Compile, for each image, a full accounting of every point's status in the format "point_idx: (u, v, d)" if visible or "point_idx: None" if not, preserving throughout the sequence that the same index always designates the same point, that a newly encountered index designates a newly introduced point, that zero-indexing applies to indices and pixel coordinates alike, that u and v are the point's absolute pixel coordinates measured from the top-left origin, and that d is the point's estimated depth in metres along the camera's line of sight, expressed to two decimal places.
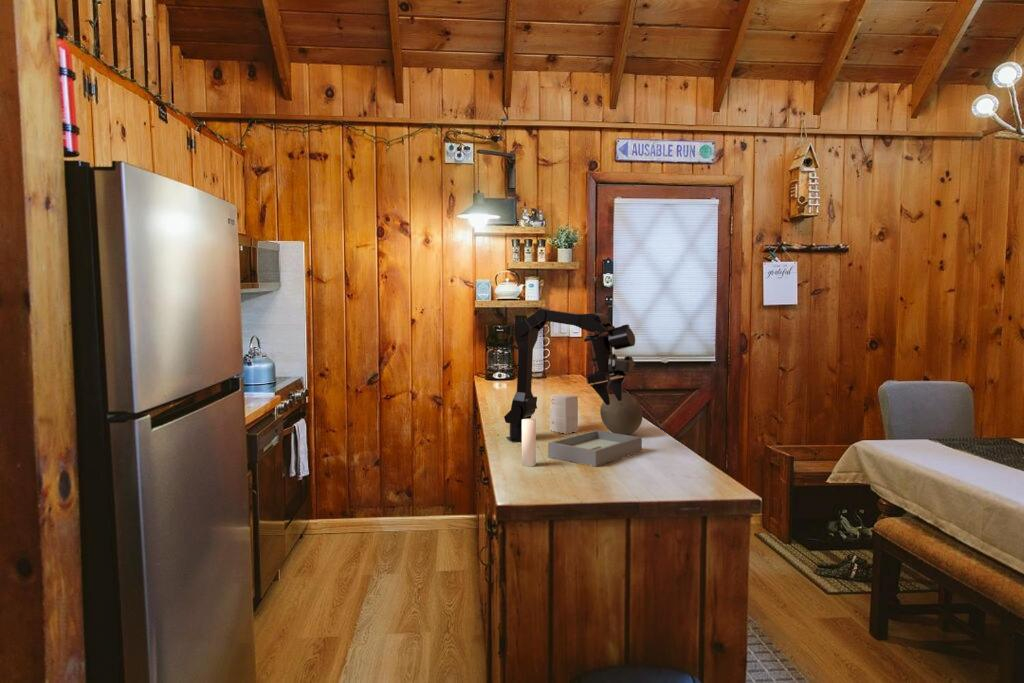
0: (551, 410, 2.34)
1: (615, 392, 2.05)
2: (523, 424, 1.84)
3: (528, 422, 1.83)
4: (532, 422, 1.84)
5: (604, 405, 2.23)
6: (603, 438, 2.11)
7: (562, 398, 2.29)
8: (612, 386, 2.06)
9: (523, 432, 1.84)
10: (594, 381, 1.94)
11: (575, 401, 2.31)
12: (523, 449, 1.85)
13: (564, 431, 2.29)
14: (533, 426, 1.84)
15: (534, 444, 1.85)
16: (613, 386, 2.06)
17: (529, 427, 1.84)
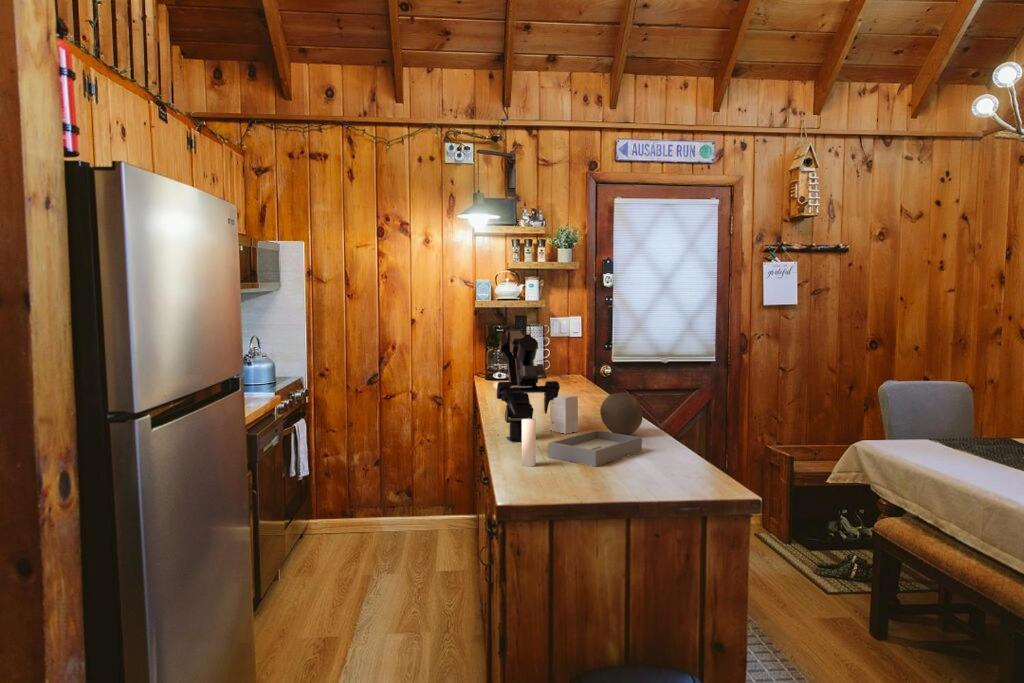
0: (551, 410, 2.34)
1: (544, 406, 1.96)
2: (523, 424, 1.84)
3: (528, 422, 1.83)
4: (532, 422, 1.84)
5: (604, 405, 2.23)
6: (603, 438, 2.11)
7: (562, 398, 2.29)
8: (544, 402, 1.98)
9: (523, 432, 1.84)
10: (497, 393, 1.97)
11: (575, 401, 2.31)
12: (523, 449, 1.85)
13: (564, 431, 2.29)
14: (533, 426, 1.84)
15: (534, 444, 1.85)
16: (544, 401, 1.98)
17: (528, 427, 1.84)
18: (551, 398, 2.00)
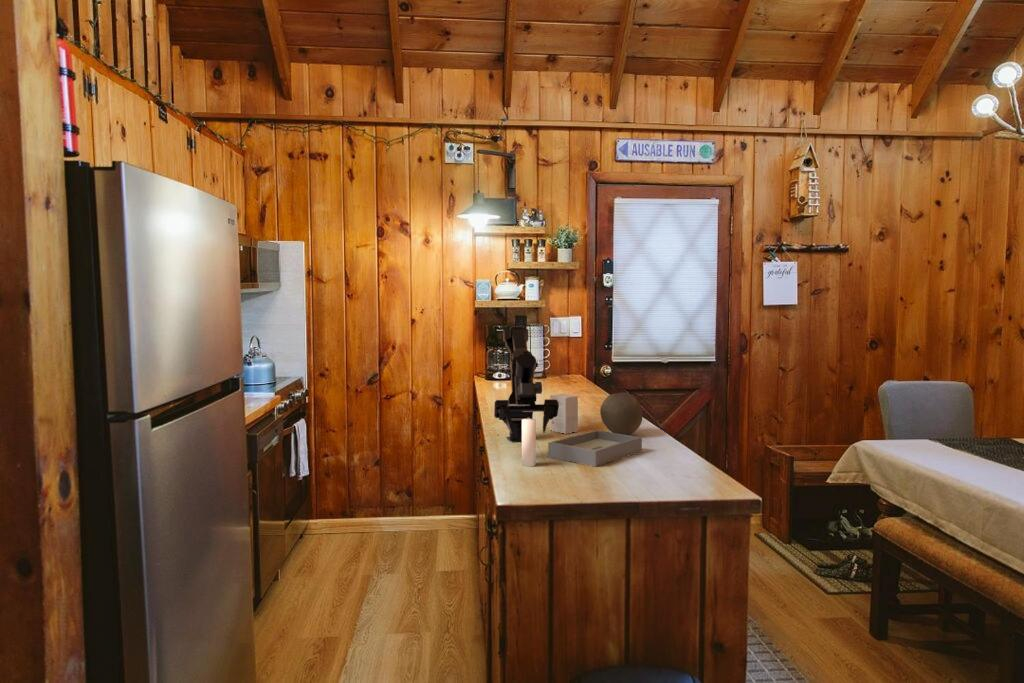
0: None
1: None
2: (523, 424, 1.84)
3: (528, 422, 1.83)
4: (532, 422, 1.84)
5: (604, 405, 2.23)
6: (603, 438, 2.11)
7: (562, 398, 2.29)
8: None
9: (523, 432, 1.84)
10: (494, 411, 1.92)
11: (575, 401, 2.31)
12: (523, 449, 1.85)
13: (564, 431, 2.29)
14: (533, 426, 1.84)
15: (534, 444, 1.85)
16: (543, 420, 1.92)
17: (529, 427, 1.84)
18: (550, 417, 1.93)
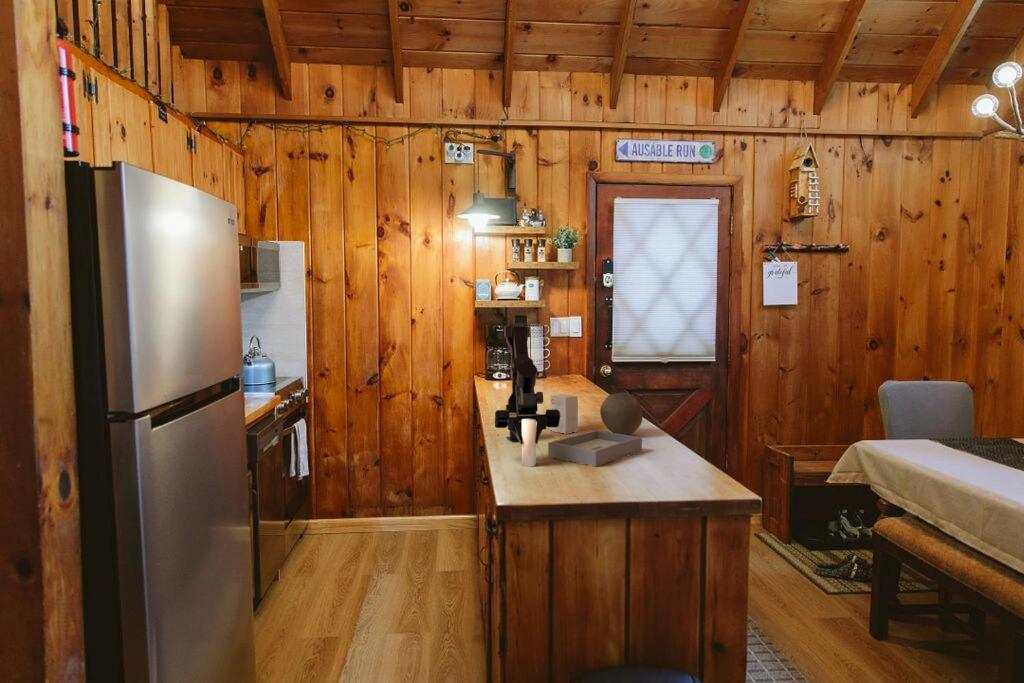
0: None
1: None
2: (523, 424, 1.84)
3: (528, 422, 1.83)
4: (532, 422, 1.84)
5: (604, 405, 2.23)
6: (603, 438, 2.11)
7: (562, 398, 2.29)
8: None
9: (523, 432, 1.84)
10: (495, 421, 1.89)
11: (575, 401, 2.31)
12: (523, 449, 1.85)
13: (564, 431, 2.29)
14: (533, 426, 1.84)
15: (534, 444, 1.85)
16: None
17: (529, 427, 1.84)
18: (543, 427, 1.90)
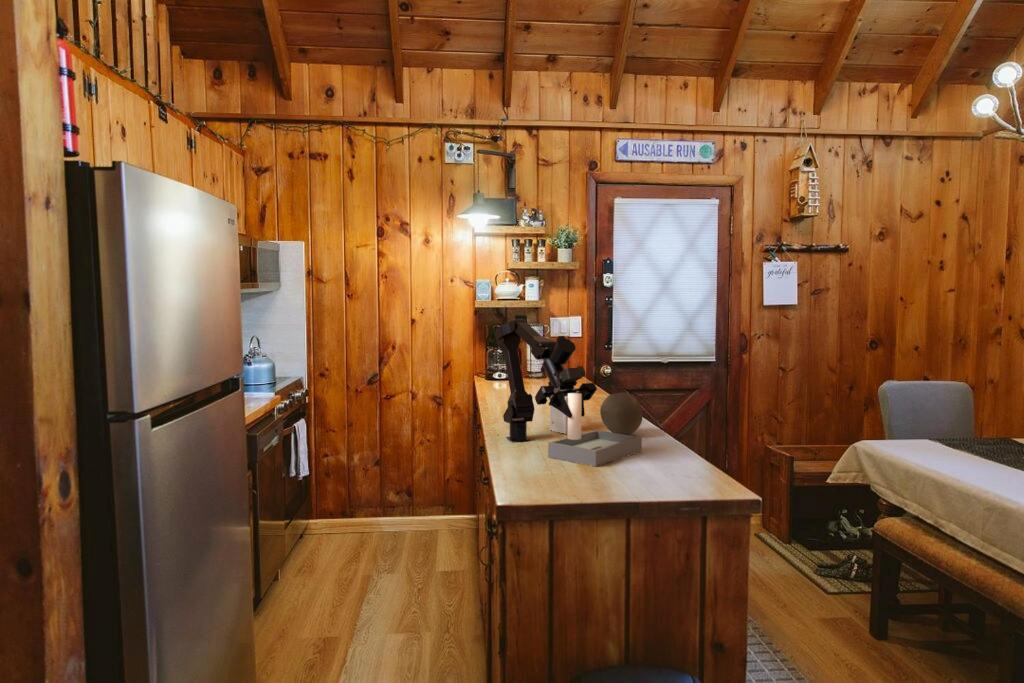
0: (551, 410, 2.34)
1: None
2: (572, 398, 1.87)
3: (577, 395, 1.87)
4: (580, 395, 1.88)
5: (604, 405, 2.23)
6: (603, 438, 2.11)
7: None
8: None
9: (572, 406, 1.87)
10: (539, 398, 1.89)
11: None
12: (572, 423, 1.88)
13: (564, 431, 2.29)
14: (581, 399, 1.88)
15: None
16: None
17: (578, 401, 1.87)
18: None
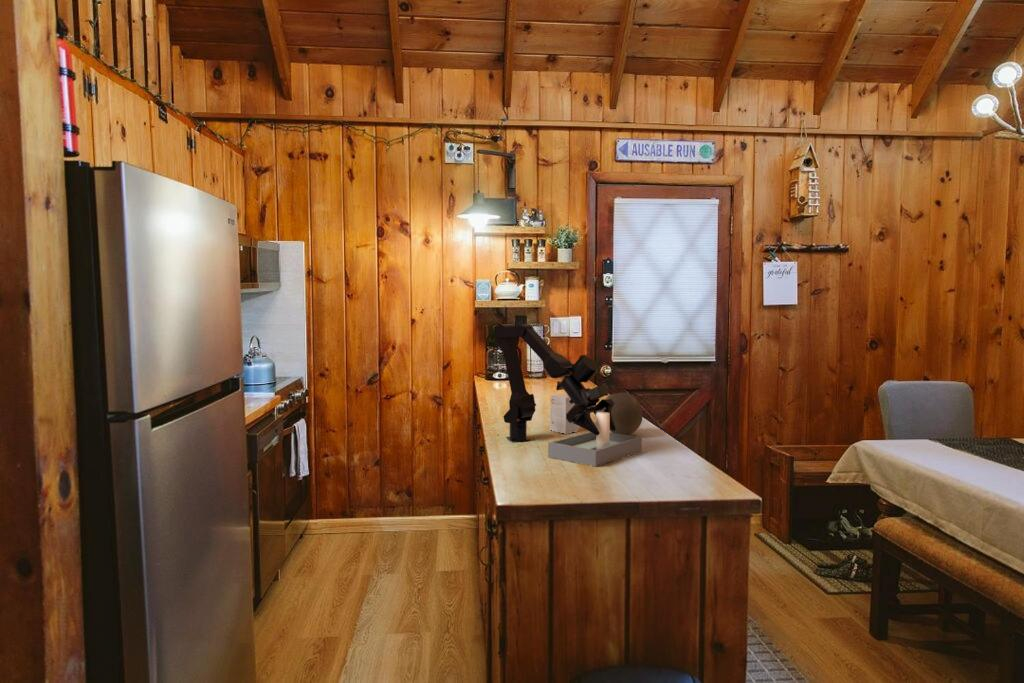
0: (551, 410, 2.34)
1: None
2: (603, 417, 1.95)
3: (607, 415, 1.95)
4: (609, 414, 1.96)
5: None
6: None
7: (562, 398, 2.29)
8: None
9: (603, 425, 1.95)
10: (572, 417, 1.93)
11: None
12: (603, 441, 1.95)
13: (564, 431, 2.29)
14: (609, 418, 1.97)
15: None
16: None
17: (608, 420, 1.95)
18: None
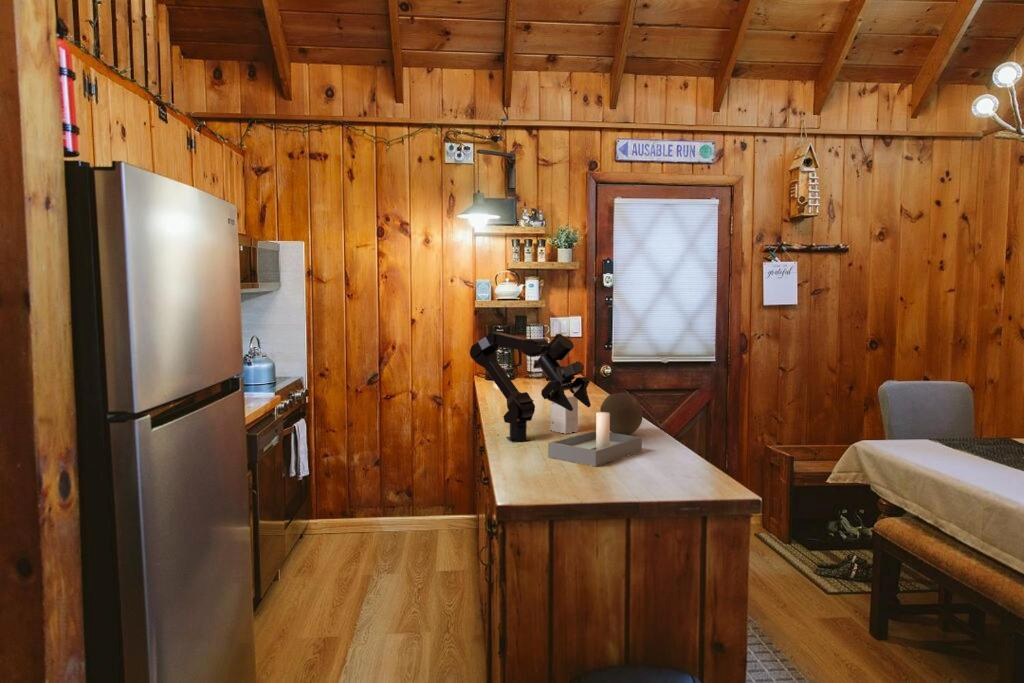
0: (551, 410, 2.34)
1: (582, 401, 2.07)
2: (603, 417, 1.95)
3: (608, 415, 1.95)
4: (609, 414, 1.96)
5: (604, 405, 2.23)
6: None
7: None
8: (578, 397, 2.08)
9: (603, 425, 1.95)
10: (547, 393, 1.99)
11: (575, 401, 2.31)
12: (603, 441, 1.95)
13: (564, 431, 2.29)
14: (609, 418, 1.97)
15: None
16: (579, 396, 2.08)
17: (608, 420, 1.95)
18: None
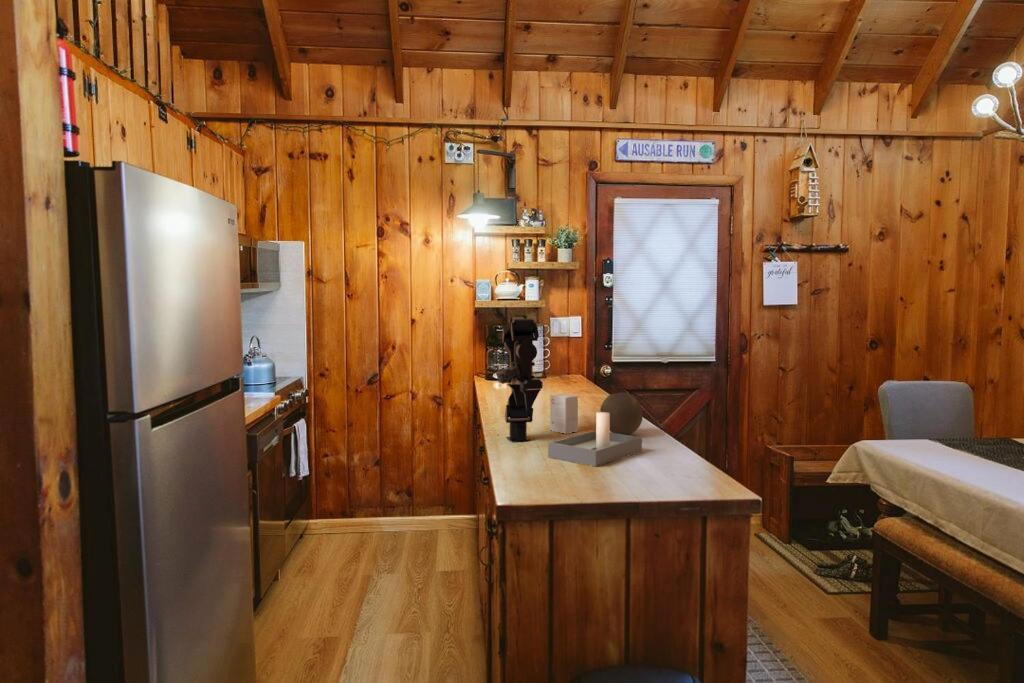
0: (551, 410, 2.34)
1: None
2: (603, 417, 1.95)
3: (608, 415, 1.95)
4: (609, 414, 1.96)
5: (604, 405, 2.23)
6: None
7: (562, 398, 2.29)
8: None
9: (603, 425, 1.95)
10: None
11: (575, 401, 2.31)
12: (603, 441, 1.95)
13: (564, 431, 2.29)
14: (609, 418, 1.97)
15: None
16: None
17: (608, 420, 1.95)
18: (537, 390, 1.98)
